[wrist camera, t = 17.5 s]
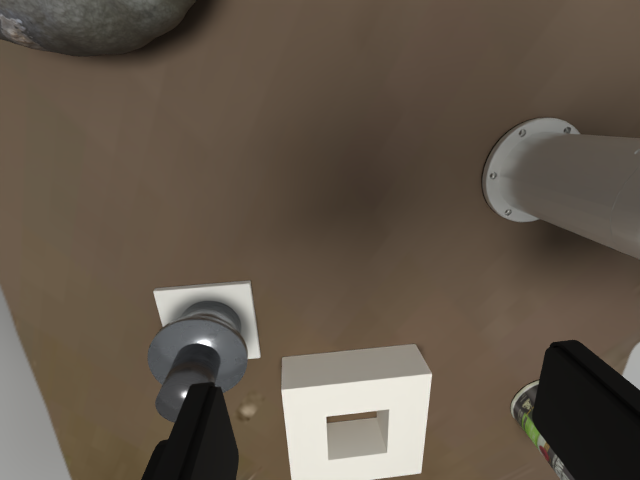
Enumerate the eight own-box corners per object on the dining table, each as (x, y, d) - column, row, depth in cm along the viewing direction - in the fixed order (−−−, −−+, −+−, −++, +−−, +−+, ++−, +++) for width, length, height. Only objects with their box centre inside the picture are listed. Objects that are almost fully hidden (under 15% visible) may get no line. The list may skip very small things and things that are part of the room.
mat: (250, 280, 42) (249, 283, 41) (260, 353, 46) (260, 357, 45) (155, 288, 41) (153, 291, 40) (175, 362, 45) (173, 366, 45)
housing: (415, 343, 48) (432, 373, 43) (407, 437, 56) (421, 473, 50) (282, 357, 47) (281, 389, 41) (292, 451, 54) (292, 489, 49)
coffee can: (512, 429, 57) (578, 521, 44) (507, 388, 54) (578, 476, 41) (567, 412, 57) (650, 500, 44) (567, 370, 53) (658, 453, 40)
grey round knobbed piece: (247, 287, 41) (231, 354, 30) (256, 355, 45) (246, 437, 34) (159, 294, 40) (107, 366, 29) (177, 363, 44) (138, 450, 33)
